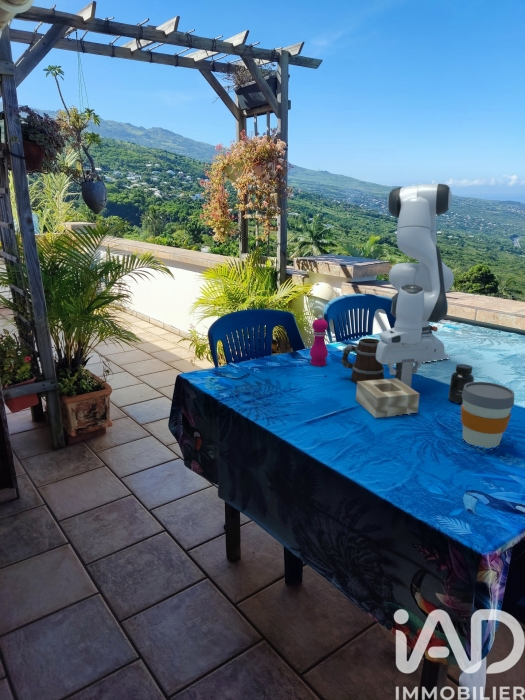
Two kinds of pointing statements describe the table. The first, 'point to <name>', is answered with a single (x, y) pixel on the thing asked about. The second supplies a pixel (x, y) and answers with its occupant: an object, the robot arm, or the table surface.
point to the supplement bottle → (460, 382)
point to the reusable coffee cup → (485, 413)
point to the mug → (364, 361)
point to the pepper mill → (319, 342)
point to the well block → (387, 397)
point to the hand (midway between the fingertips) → (403, 373)
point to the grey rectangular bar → (405, 371)
